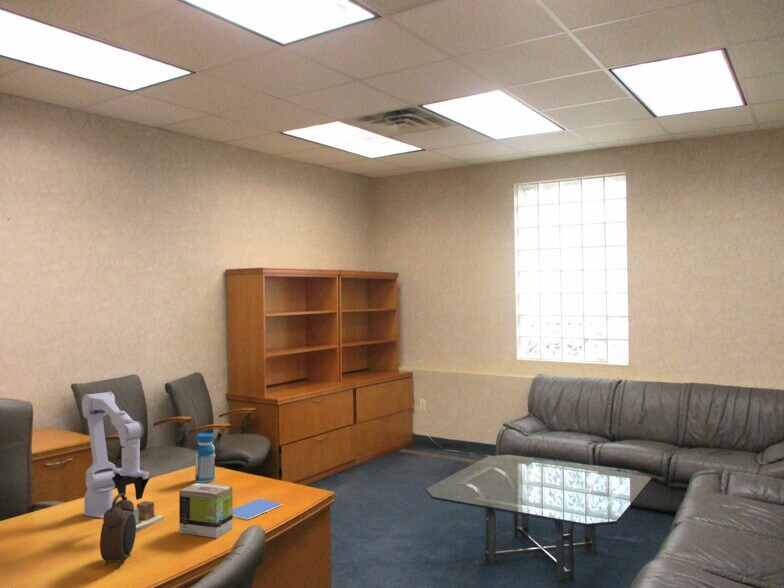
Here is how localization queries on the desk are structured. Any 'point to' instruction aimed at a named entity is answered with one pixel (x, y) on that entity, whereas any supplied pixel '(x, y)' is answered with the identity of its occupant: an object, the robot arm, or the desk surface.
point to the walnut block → (146, 510)
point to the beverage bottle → (205, 458)
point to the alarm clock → (118, 531)
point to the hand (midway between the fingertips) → (130, 497)
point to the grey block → (136, 514)
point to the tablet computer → (254, 509)
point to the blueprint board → (148, 522)
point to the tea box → (205, 510)
